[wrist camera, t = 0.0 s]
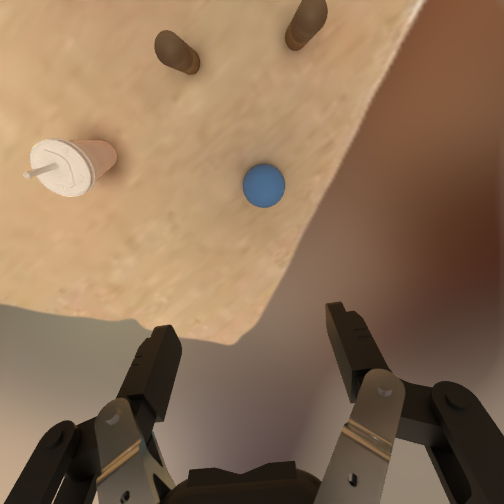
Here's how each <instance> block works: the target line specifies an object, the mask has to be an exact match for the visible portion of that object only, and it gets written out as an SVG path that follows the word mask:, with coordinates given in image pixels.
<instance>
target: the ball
mask: <svg viewBox="0 0 504 504" xmlns="http://www.w3.org/2000/svg"><path fill="white" fill-rule="evenodd" d="M284 190H285V181H284V177H283V175H282V174H281V172H280V171H279V170H278V169H277V168H275V167H274V166H272V165H268V164H260V165H257V166H255V167H253V168H252V169H250V170H249V171H248V173H247V174H246V176H245V178H244V181H243V191H244V194H245V197H246V198H247V200H248V201H249V202H250V203H251V204H253V205H255V206H257V207H261V208H266V207H271V206H273V205H275V204H276V203H277V202H278V201H279V200H280V199H281V198H282V196H283V194H284Z"/></svg>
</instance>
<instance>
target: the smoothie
mask: <svg viewBox="0 0 504 504" xmlns="http://www.w3.org/2000/svg"><path fill="white" fill-rule="evenodd" d="M116 161H117V154H116V151H115V149H114V148H113V146H112V145H111V144H109V143H108V142H106V141H103V140H74V141H68V140H64V139H60V138H49V139H46V140H42V141H40V142H38V143H36V144H35V145H34V146H33V148H32V150H31V153H30V162H31V166H32V169H33V170H32V171H29V172H26V173H24V176H25V177H26V178H31V177H34V176H37V178H38V179H39V180H40V182H41V183H42V184H43V185H44V186H46V187H47V188H48V189H50V190H51V191H53V192H55V193H57V194H59V195H62V196H66V197H77V196H80V195H82V194H85V193H87V192H88V191H90V190H91V188H92V187H93V185H94V182H95V181H96V180H97V179H99V178H100V177H101V176H102V175H103V174H104V173H105V172H107V171H108V170H109V169H110V168H111V167H112V166H113V165H114V164H115V163H116Z"/></svg>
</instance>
